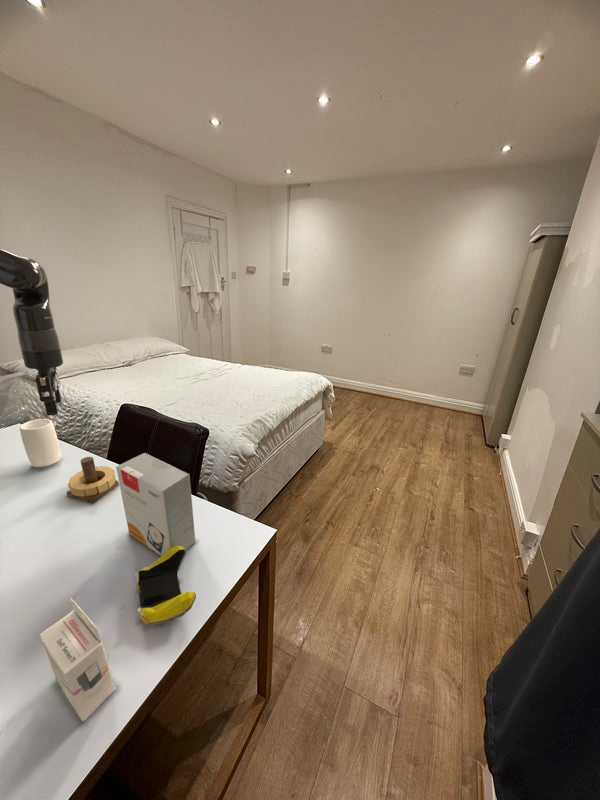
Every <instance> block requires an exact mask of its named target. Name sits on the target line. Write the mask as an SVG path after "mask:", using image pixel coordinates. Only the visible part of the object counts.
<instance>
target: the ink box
mask: <svg viewBox="0 0 600 800" xmlns="http://www.w3.org/2000/svg"><path fill="white" fill-rule="evenodd" d="M68 599H69V601H70V604H71V606H72V608H73V609H72V611H71V612H69V613H68V614H66V615H65V616H63V617H62V618H60V619H59V620H58V621H56V622H54V623H53V624H52V625H50V626H49V627H47V628H46V629H45V630H44V631H42V632H41V633H39V634H38V637H39V639H40V642H41V644H42V647H43V649H44V651H45V654H46V656H47V659H48V661H49V664H50V667H51V669H52V673H53V675H54V677H55V680H56V683H57V684H58V686H59V687H60V689H61V691H62V692H63V694H64V696H65V697H66V699H67V700H68V702H69V703H70V705H71V707H72V709H74V711H75V713H76V714H77V715H78V718H79V719H80V720H81V721H82V722H84V721H85V722H86V720H87V719H88V718H89V717H90V716H91V715H92V714H93V713H94V712H95V711H96V710H97V709H98V708H99V707H100V706H101V704H103V702H104V701H106V699H108V697H110V696H111V695H112V693H113V692H114V691H115V689H116V688H115V684H114V681H113V677H112V674H111V670H110V667H109V663H108V659H107V656H106V651H105V649H104V645H103V642H102V639H101V635H100V633H99V629H98V628H97V626H96V624H94V622H93V621H92V620H91V619H90V617H88V615H87V614H86V613H85V612H84V611H83V610H82V609H81V607H80V606H79V605H78V604H77V603H76V602H75V601H74V599H72V597H69V598H68Z"/></svg>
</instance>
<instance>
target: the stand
mask: <svg viewBox="0 0 600 800" xmlns="http://www.w3.org/2000/svg"><path fill="white" fill-rule="evenodd" d="M80 466H81V471H82V470H83V474H84V479H85V482H83V483H82V484H91V483H95V482H97V481H100V480H101V479H102V478H103V477H97V474H96V469H95V467H96V465H95V461H94V457H93V456H86V457H83V458H81V459H80ZM118 486H120V483H119V480H118V479H117V480H116V481H115V483H114V484H113V485H112V486H111V487H110V488H108V489H107V490H105V491H103V492H101V493H98V494H96V495H91V496H85V497H83V496H76V495H73V494H72V493H71V492H70V489H68V491H66V493H65V494H66V497H67V498H70V499H74V500H77V501H81V502H85V503H89V504H95V503H97V502H98V501H99V500H101V499H102V498H103V497H104V496H106V495H107V494H109V493H110V492H112V491H113V490H114V489H115V488H116V487H118Z"/></svg>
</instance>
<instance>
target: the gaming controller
mask: <svg viewBox="0 0 600 800" xmlns="http://www.w3.org/2000/svg"><path fill="white" fill-rule="evenodd" d="M186 555H187V550H185V549H184V548H183V547H182V546H179V545H177V546H175V547H173V548H171V549H170V550H168V551H167V552H166V553H165V554H164V555H162V556H160V557H159V558H157V559H156V560H155V561H154V562H153V563H152V564H150V565H149V566H147V567H142V568H140V569H139V570H138V571H136V572H135V573H134V577H135V578H136V580H137V583H136V589H137V593H139V604H140V606H139V607H138V608H137V609H136V611H137V613H138V616H139V619H140V620H141V621H142V623H144V624H146V625H150V626H154V625H160V624H165V623H168V622H171V621H173V620H176V619H179V618H181V617H183V616H184V615H185V614H187V613H188V612H189V611H190V610H191V609H192V608H193V605H194V603H195V601H196V598H197V593H196V592H195V591H193V590H186V591H185V592H181V591H182V590H181V587H180V582H179V581H180V580H179V576H178V575H179V571H180V569H181V566H182V564H183V562H184V559H185V556H186Z"/></svg>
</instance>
